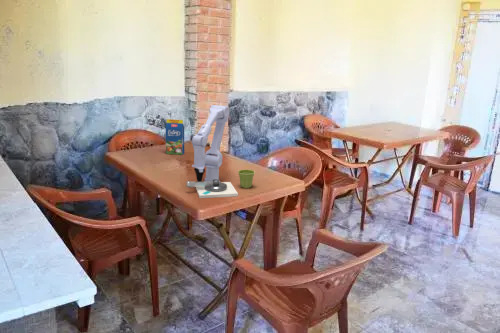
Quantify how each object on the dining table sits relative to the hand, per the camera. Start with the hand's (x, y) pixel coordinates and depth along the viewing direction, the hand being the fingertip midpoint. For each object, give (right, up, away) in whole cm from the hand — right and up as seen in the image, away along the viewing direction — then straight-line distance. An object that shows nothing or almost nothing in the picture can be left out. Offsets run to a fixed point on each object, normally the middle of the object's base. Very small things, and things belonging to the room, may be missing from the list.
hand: (199, 181), depth 223 cm
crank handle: (+5, -4, -4) cm, 7 cm away
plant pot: (+25, -3, +7) cm, 26 cm away
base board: (+9, -5, -3) cm, 11 cm away
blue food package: (-27, +17, +75) cm, 81 cm away
